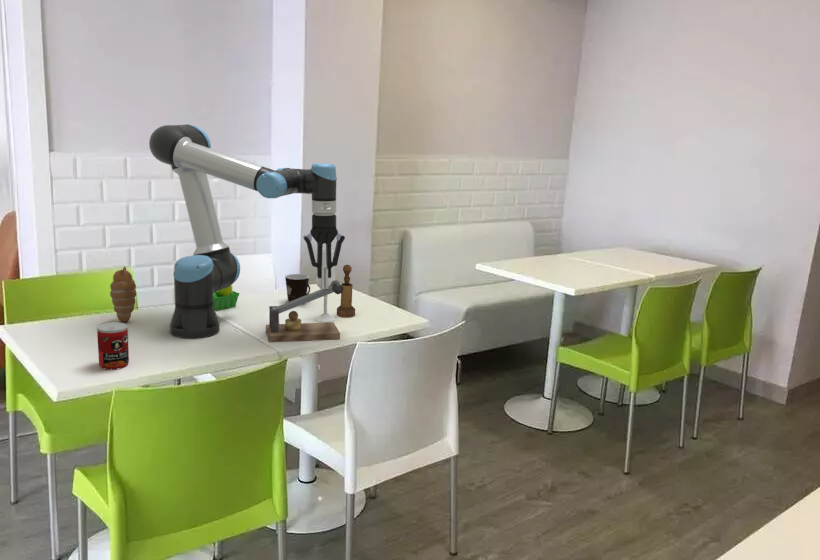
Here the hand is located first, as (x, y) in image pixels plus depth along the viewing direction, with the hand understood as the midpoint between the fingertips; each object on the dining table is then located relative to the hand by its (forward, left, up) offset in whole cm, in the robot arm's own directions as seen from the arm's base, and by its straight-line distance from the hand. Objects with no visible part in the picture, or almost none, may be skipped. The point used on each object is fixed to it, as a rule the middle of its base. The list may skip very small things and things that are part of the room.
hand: (324, 287), depth 231 cm
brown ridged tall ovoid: (-62, +21, -16) cm, 67 cm away
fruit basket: (-31, +35, -16) cm, 49 cm away
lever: (-5, 0, -5) cm, 7 cm away
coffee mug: (-4, +37, -16) cm, 40 cm away
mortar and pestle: (+11, +21, -16) cm, 29 cm away
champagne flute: (+3, +17, -16) cm, 23 cm away
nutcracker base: (-7, 0, -15) cm, 17 cm away
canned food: (-61, -20, -16) cm, 66 cm away
